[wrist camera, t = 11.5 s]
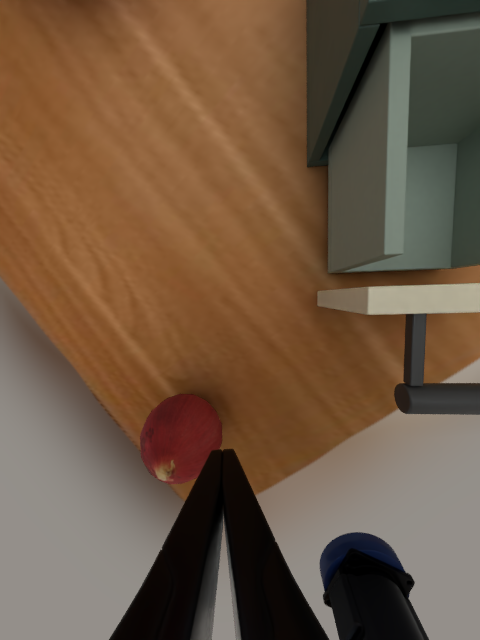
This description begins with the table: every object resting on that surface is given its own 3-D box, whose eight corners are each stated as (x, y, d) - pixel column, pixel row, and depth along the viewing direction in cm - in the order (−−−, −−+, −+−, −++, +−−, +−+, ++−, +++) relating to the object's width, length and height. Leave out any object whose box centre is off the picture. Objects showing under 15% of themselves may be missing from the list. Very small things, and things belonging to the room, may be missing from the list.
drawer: (454, 365, 18) (630, 428, 10) (317, 366, 19) (365, 425, 11) (467, 139, 17) (693, -30, 8) (317, 151, 18) (374, 10, 9)
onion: (180, 449, 22) (136, 536, 14) (154, 393, 22) (93, 450, 14) (237, 428, 21) (225, 507, 13) (211, 370, 21) (182, 416, 13)
